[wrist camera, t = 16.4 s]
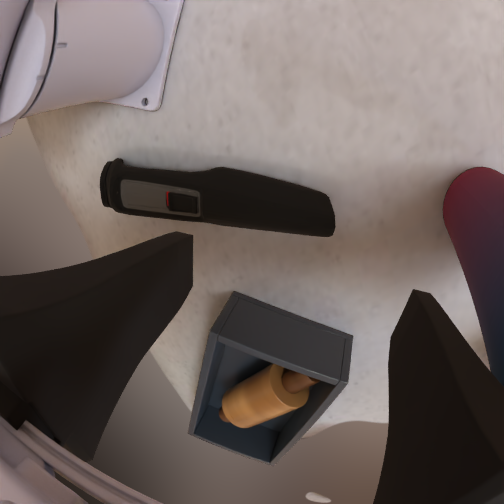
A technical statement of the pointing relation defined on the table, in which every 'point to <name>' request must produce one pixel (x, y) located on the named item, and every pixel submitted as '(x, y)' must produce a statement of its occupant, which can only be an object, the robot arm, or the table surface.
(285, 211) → the electric trimmer
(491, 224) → the cup
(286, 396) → the rolling pin
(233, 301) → the tin
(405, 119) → the table surface
